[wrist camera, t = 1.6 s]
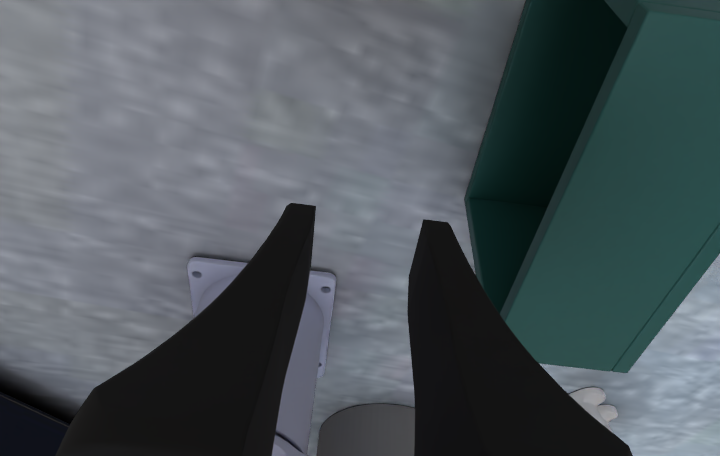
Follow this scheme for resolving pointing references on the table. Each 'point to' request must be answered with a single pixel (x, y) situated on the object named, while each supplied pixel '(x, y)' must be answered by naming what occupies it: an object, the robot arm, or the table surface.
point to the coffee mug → (369, 432)
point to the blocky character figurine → (595, 405)
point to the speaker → (28, 429)
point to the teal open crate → (600, 176)
